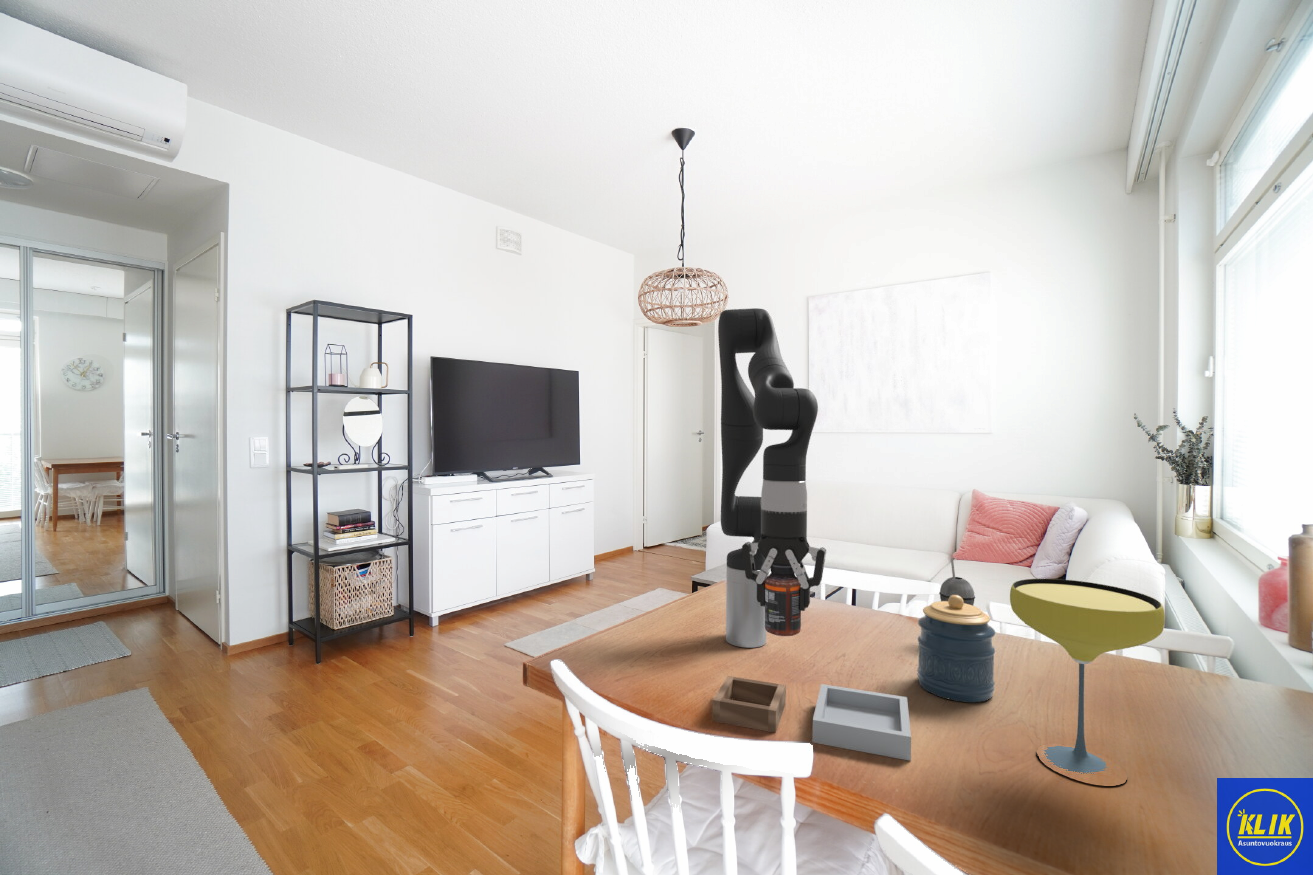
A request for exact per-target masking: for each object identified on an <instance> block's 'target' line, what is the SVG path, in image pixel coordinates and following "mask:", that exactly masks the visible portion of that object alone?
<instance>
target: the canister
mask: <svg viewBox="0 0 1313 875" xmlns="http://www.w3.org/2000/svg"><path fill="white" fill-rule="evenodd" d="M922 612H923V614H924V615H923V616H921V617H920V618H919V619H918V621H917V624H918V626H919V627H920V634H919V636H918V637H917V642H918V665H917V666H918V667H917V679H918V683H919V685H920V687H921V688H922V689H924V690H925V691H927V692H928V693H930V692H931V694H932V693H933V694H932V695H934V694H935V696H937V695H938V696H937V697H941V698H943V697H944V698H943V699H946V698H949V699H948V700H950V699H951V701H955V700H957V701H956V702H961V701H965V702H964V703H980V702H979V701H983V702H986V701H985V700H987V701H989V700H990V699H992V698H993V696H992V695H994V690H995V680H994V673H995V672H994V671H995V670H994V666H995V665H994V660H995V658H994V657H995V652H996V649H995V647H994V645H993V640H992V639H993V638H994V636H995V635H996V631H995V629H994V628H993V627H992V626H990V625H989V622H990V621H991V617H990V615H988V614H987V613H985V612H984V611H983V610H982V609H980V608H979V607H978V606H976V605H973V606H972V605H969V604H965V603H964V601H963V599H962V598H961V597H960V596H958V595H952V596H950V597H949V599H948V601H941V600H940V601H934V602H932V603H931V604H929V605H926V606H925V607H923V609H922ZM991 697H992V698H991ZM989 698H990V699H989ZM988 699H989V700H988Z"/></svg>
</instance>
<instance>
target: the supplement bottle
mask: <svg viewBox="0 0 1313 875" xmlns="http://www.w3.org/2000/svg"><path fill="white" fill-rule="evenodd" d="M800 588H801V584H800V582H799V580H798V578H797V576H796V575H795V573H794V571H793V568H792V567H791V566H781V565H771V570H770V572H769V574H768V575H767V578H766V579H765V629H766V633H769V634H771V635H774V636H779V637H794V636H795V635H798V634H799V633H800V632H801V630H802V629H801V628H802V611H800Z"/></svg>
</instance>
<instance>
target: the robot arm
mask: <svg viewBox="0 0 1313 875" xmlns="http://www.w3.org/2000/svg"><path fill="white" fill-rule="evenodd" d="M774 325H775V324H774V322H773V319H772V317H771V314H770V313H769V312H768V311H767V310H766V309H763V308H739V309H738V308H737V309H736V308H733V309H724V310H722V312H721V313H720V314H719V317H718V325H717V326H718V329H717V335H718V336H717V337H718V352H719V353H718V354H719V365H720V381H721V382H720V383H721V387H720V388H721V389H720V390H721V393H720V394H721V397H720V408H721V409H720V441H721V460H722V462H721V463H722V464H721V466H722V469H721V471H722V472H721V475H722V476H721V478H722V479H721V498H720V499H721V501H720V527H721V531H722V533H723V534H724V535H725V536H728V537H739V538H740V537H742V538H744V537H745V538H753V541H751V542H750V541H747V542H744V544H742V545H741V547H740V548H738V549H735V550H732V551H729V552H728V553H727V555H726V575H725V576H726V577H725V578H726V583H725V584H726V587H725V588H726V589H725V590H726V594H725V596H726V598H725V599H726V600H725V602H726V604H725V607H726V608H725V611H726V612H725V640H726V642H727V643H728V644H730V645H732V646H734V647H739V648H740V647H741V648H747V649H748V648H759V647H763V646H765V645H766V644H767V631H766V629H765V579H766V578H767V576H769V575H770V573H771V565H781V566H791V567H792V568H793V571H794V573H795V576H796V577H797V578H798V580H799V582H800V584H801V588H800V611H801V612H804V611H806V609H807V608H809V606H810V604H811V588H812V587H818V586H820V585H821V583H822V578H823V574H824V567H825V561H826V555H827V549H826V548H825V547H823V546H822V547H820V548H818V547H815V546H810V543H809V541H808V539H807V536H808V533H807V532H808V516H807V515H808V491H807V484H806V483H807V481H806V480H807V479H806V478H807V475H806V473H807V471H806V469H807V454H808V453H807V452H808V449H809V445H810V441H811V436H812V433H813V430H814V427H815V423H816V420H817V416H818V412H819V405H818V404H819V403H818V400H817V397H816V395H815V394H814V393H813V391H811V390H810V389H807V388H802V387H801V388H799V387H797V388H796V387H795V383H794V380H793V377H792V374H791V373H790V371H789V369H788V367H787V365H786V363H785V362H784V359H783V356H782V354H781V350H780V345H779V341H778V337H777V332H776V330H775V329H776V328H775V326H774ZM751 353H753V354H752V356H751V358H750V360H749V363H748V365H747V366H748V367H747V374H748V379H749V381H750V384H751V386H752V389H753V391H754V394H753V393H752V392H751V390H750V388H749V387H748V386H747V385H746V383H745V381H744V378H743V376H742V375H741V373H740V371H739V368H738V366H737V365H738V364H737V359H736V355H737V354H751ZM794 387H795V388H794ZM764 430H768V431H769V430H770V431H791V435H790V436H789V437H788V439H787V440H786V441H784V442H781V443H775V444H772V445H768V446H766V447H765V448H764V450H763V455H762V456H763V457H762V458H763V459H762V463H763V464H762V470H763V471H762V486H761V493H760V496H745V495H742V496H741V495H740V496H739V495H738V496H737V495H736V491H737V488H738V485H739V482H740V481H741V479H742V477H743V475H744V473H745V471H746V470H747V468H748V467H749V466H750V464H751V463H752V461H753V460H754V458H756V456H757V454H758V453H759V451H760V449H761V447H762V445H763V442H764ZM807 554H809V555H811V560H812V561H813V562H814V570H813V576H812V577H809V575H808V572H807V569H806V567H805V564H804V563H803V560H804V559H805V558H806V556H807Z"/></svg>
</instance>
